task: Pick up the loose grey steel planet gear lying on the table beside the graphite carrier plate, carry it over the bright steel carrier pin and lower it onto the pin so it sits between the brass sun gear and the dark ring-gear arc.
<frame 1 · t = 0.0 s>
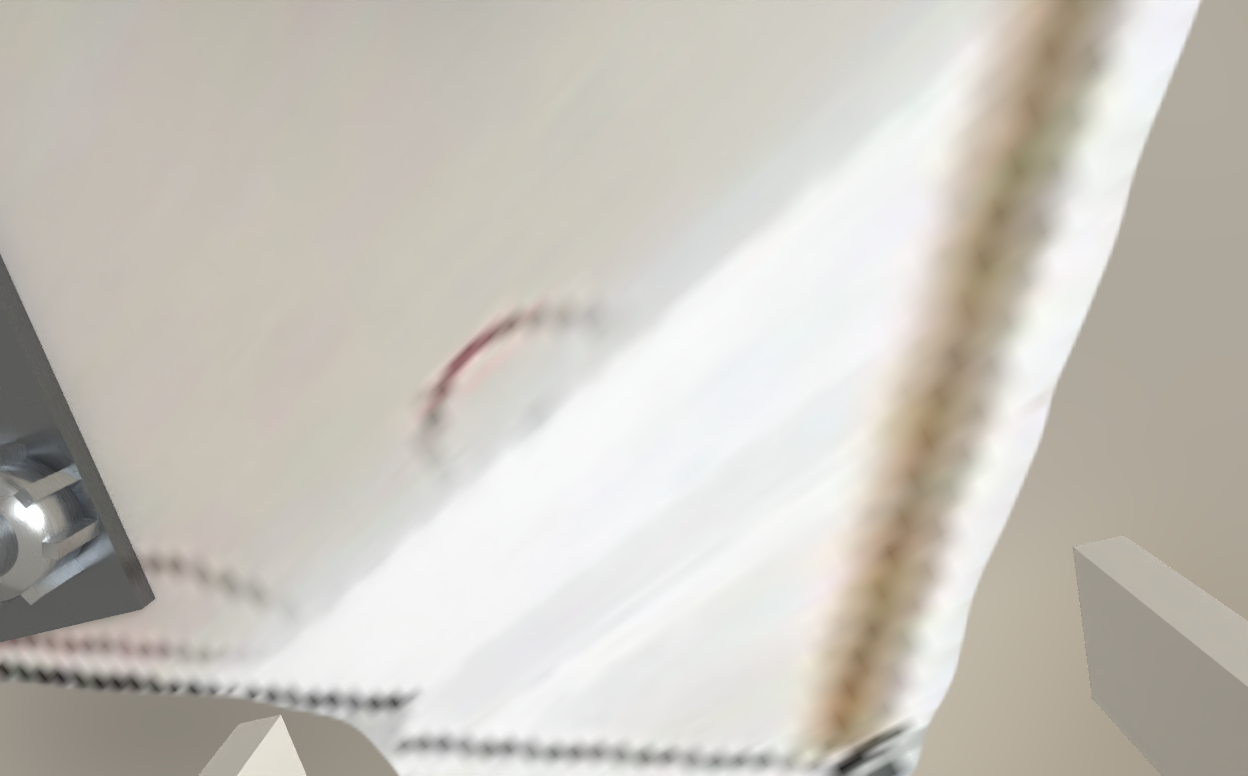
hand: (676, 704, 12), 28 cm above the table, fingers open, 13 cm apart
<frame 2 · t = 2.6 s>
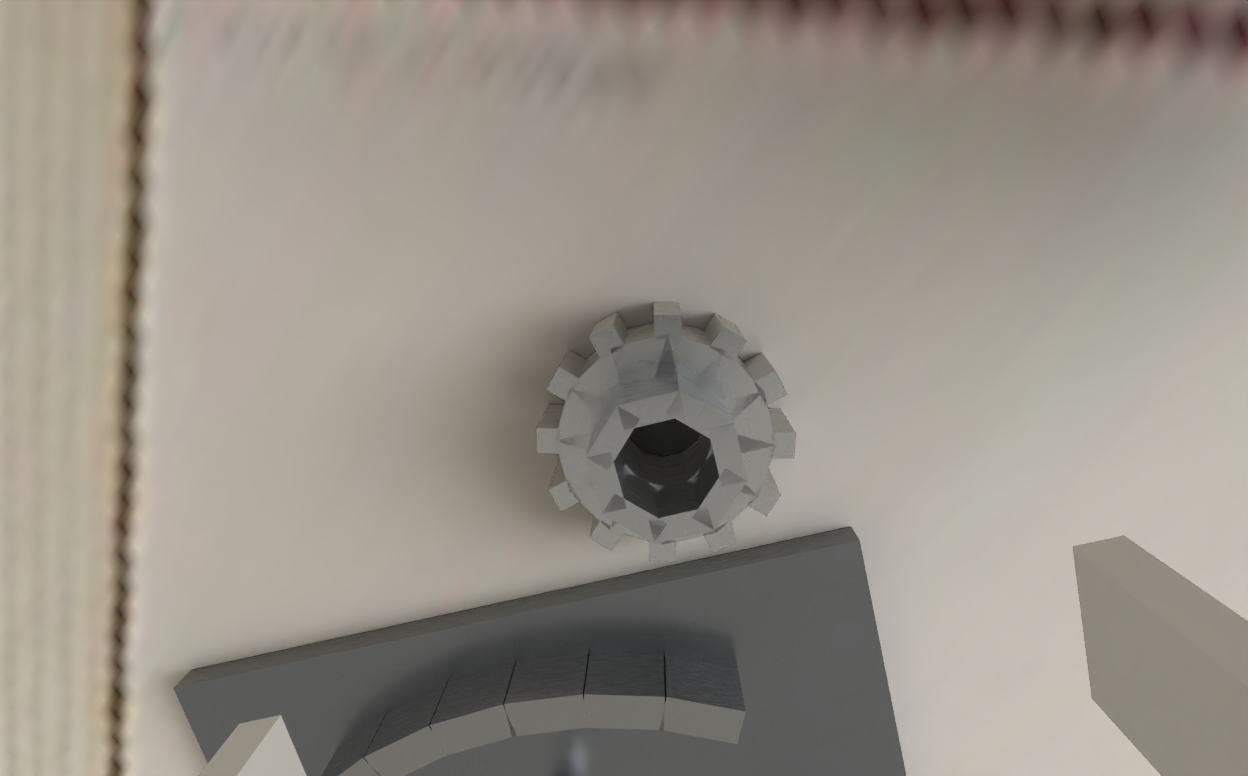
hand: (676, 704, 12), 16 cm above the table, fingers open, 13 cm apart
gear: (663, 417, 28), on the table
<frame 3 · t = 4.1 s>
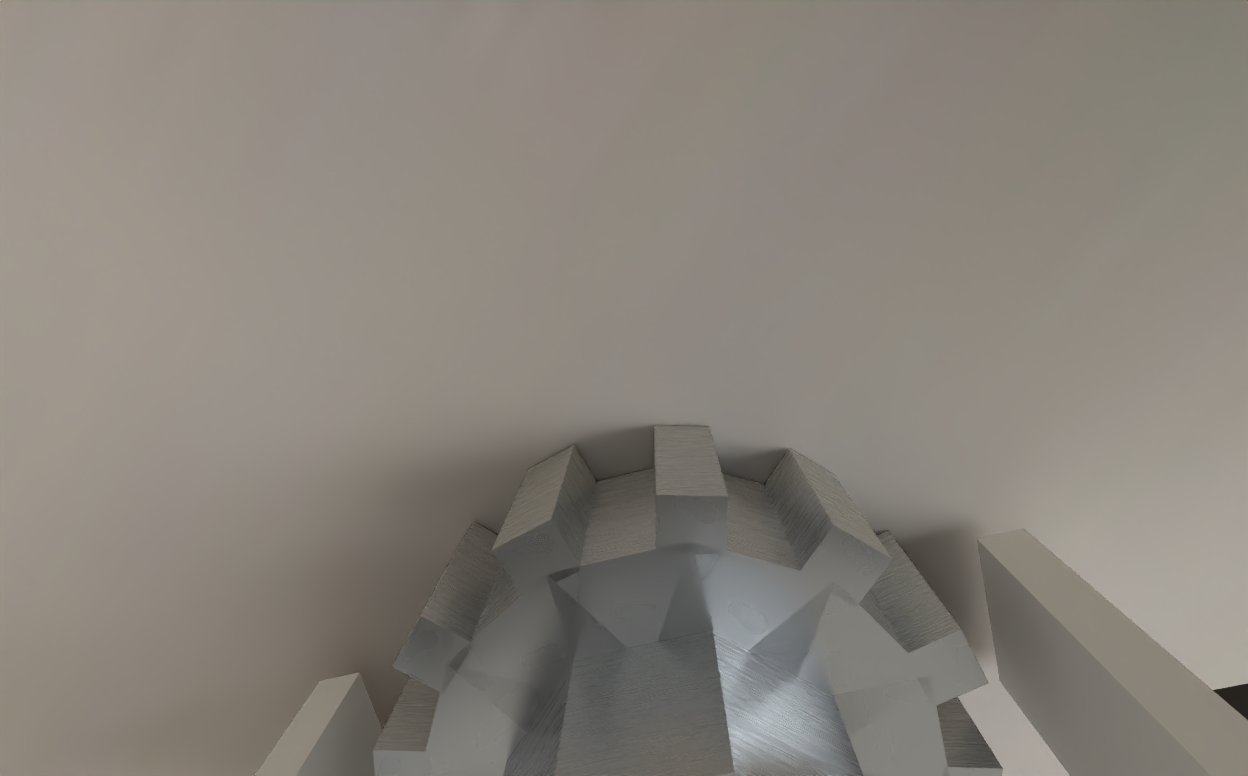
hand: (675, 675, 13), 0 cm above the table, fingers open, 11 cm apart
gear: (675, 658, 13), on the table
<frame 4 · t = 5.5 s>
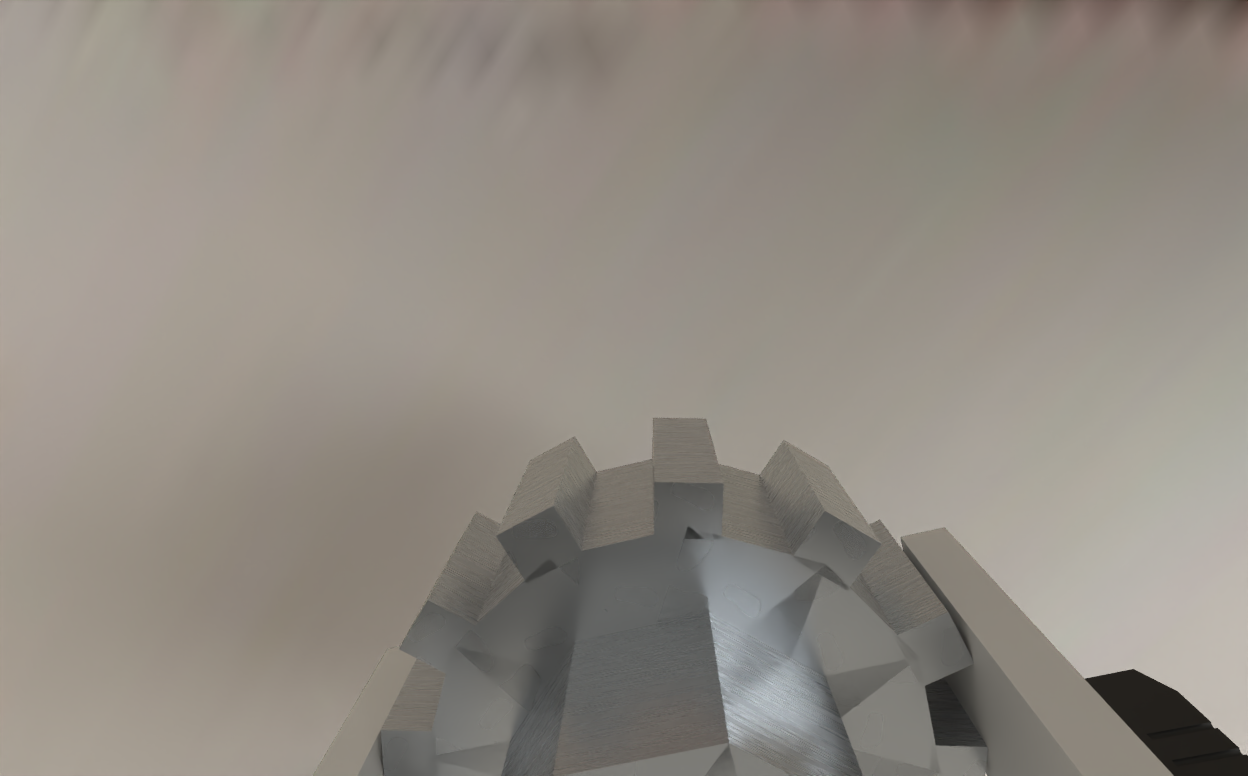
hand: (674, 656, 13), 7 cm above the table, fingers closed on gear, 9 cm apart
gear: (673, 644, 14), point 7 cm above the table, touching gripper
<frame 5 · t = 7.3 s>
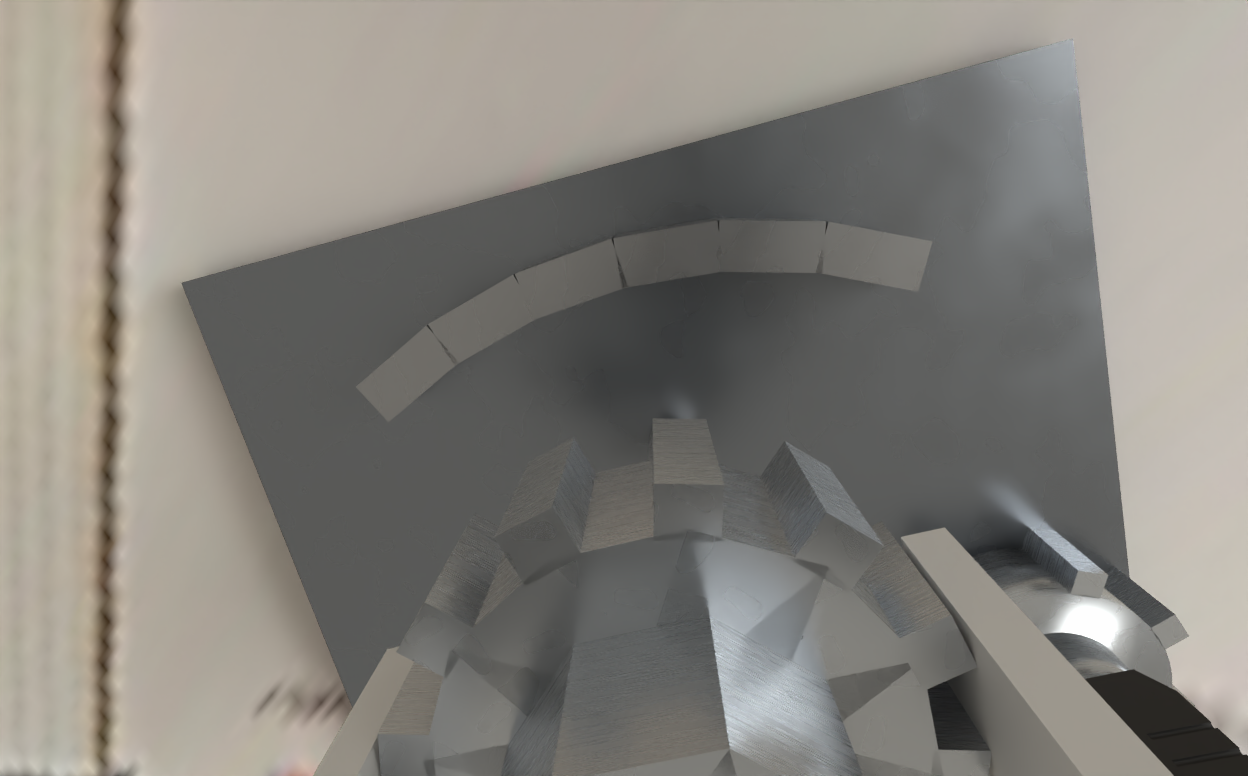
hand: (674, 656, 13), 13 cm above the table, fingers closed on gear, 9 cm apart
carrier: (695, 533, 26), on the table
gear: (673, 647, 13), point 13 cm above the table, touching gripper
when the fingers open (2 cm above the table, at t = 9.3 s): gear stays where it is, resting on carrier.
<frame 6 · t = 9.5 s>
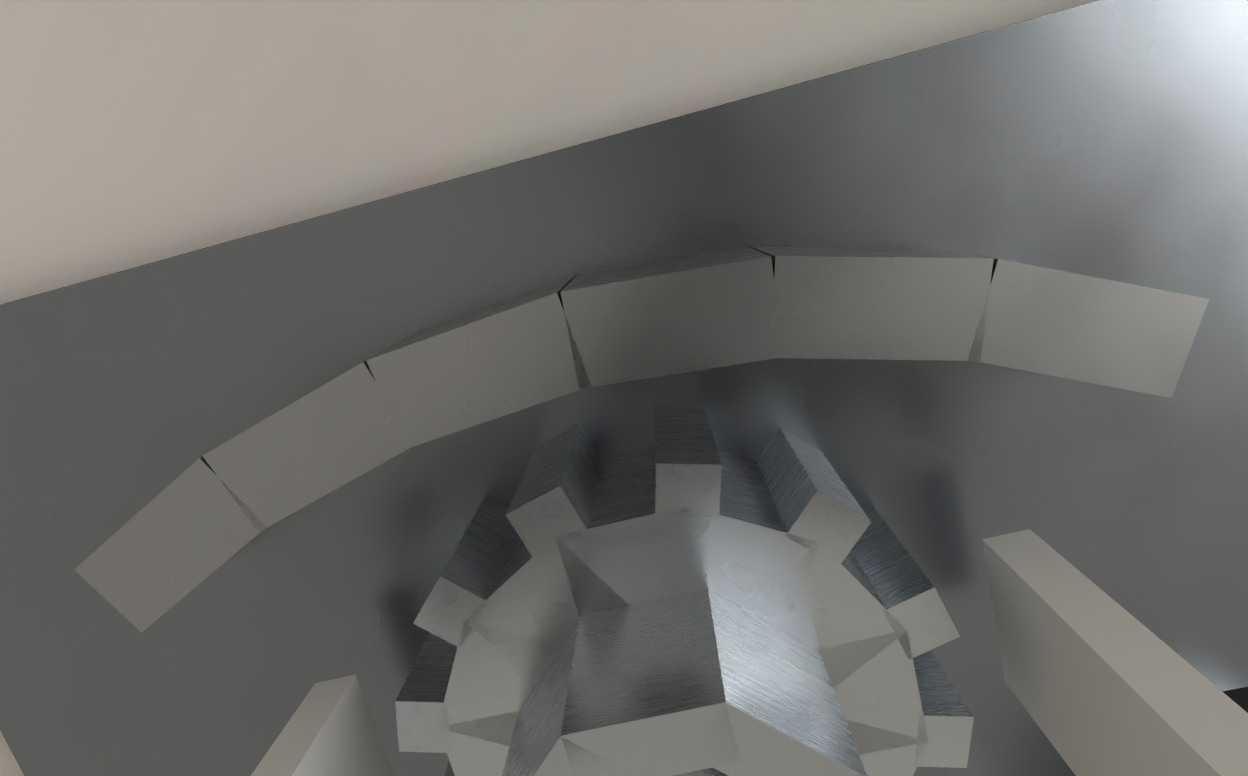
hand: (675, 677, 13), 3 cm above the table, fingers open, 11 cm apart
carrier: (713, 756, 16), on the table
gear: (673, 625, 14), point 1 cm above the table, touching carrier
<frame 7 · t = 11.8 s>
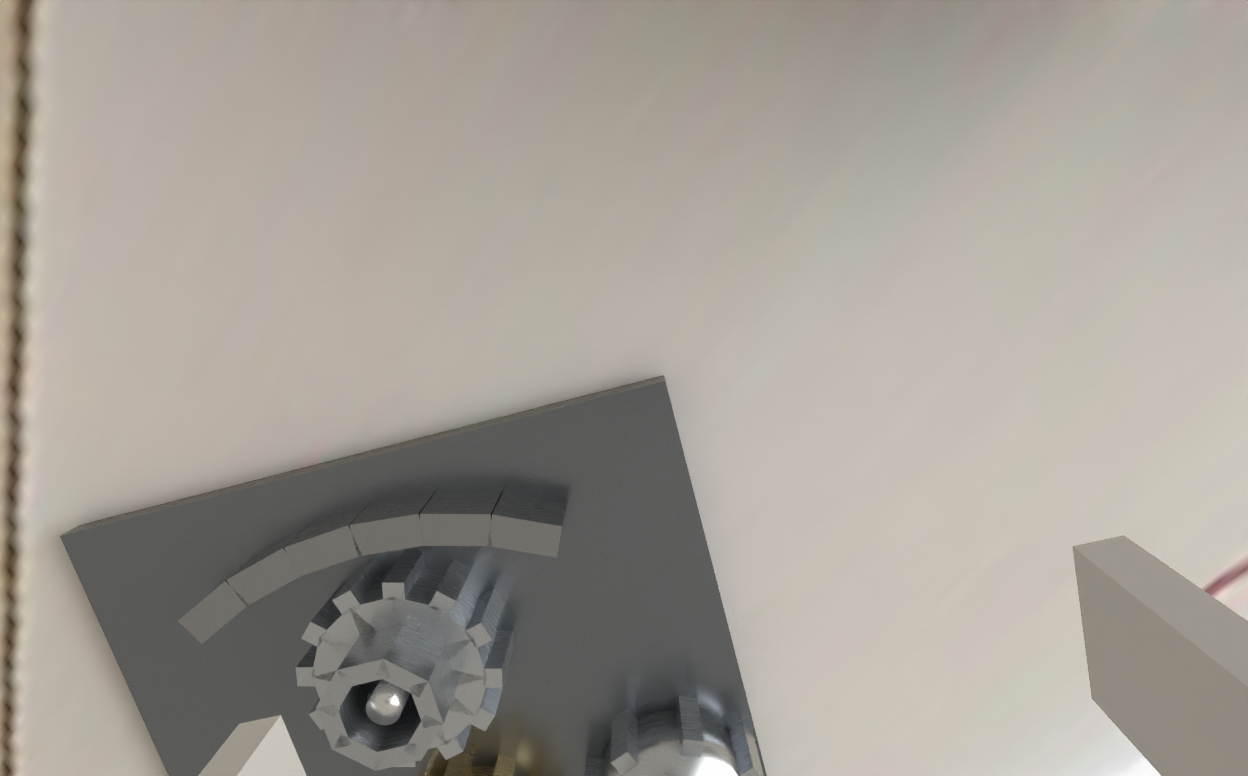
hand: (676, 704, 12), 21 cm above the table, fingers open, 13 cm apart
carrier: (451, 698, 36), on the table
gear: (419, 638, 34), point 1 cm above the table, touching carrier
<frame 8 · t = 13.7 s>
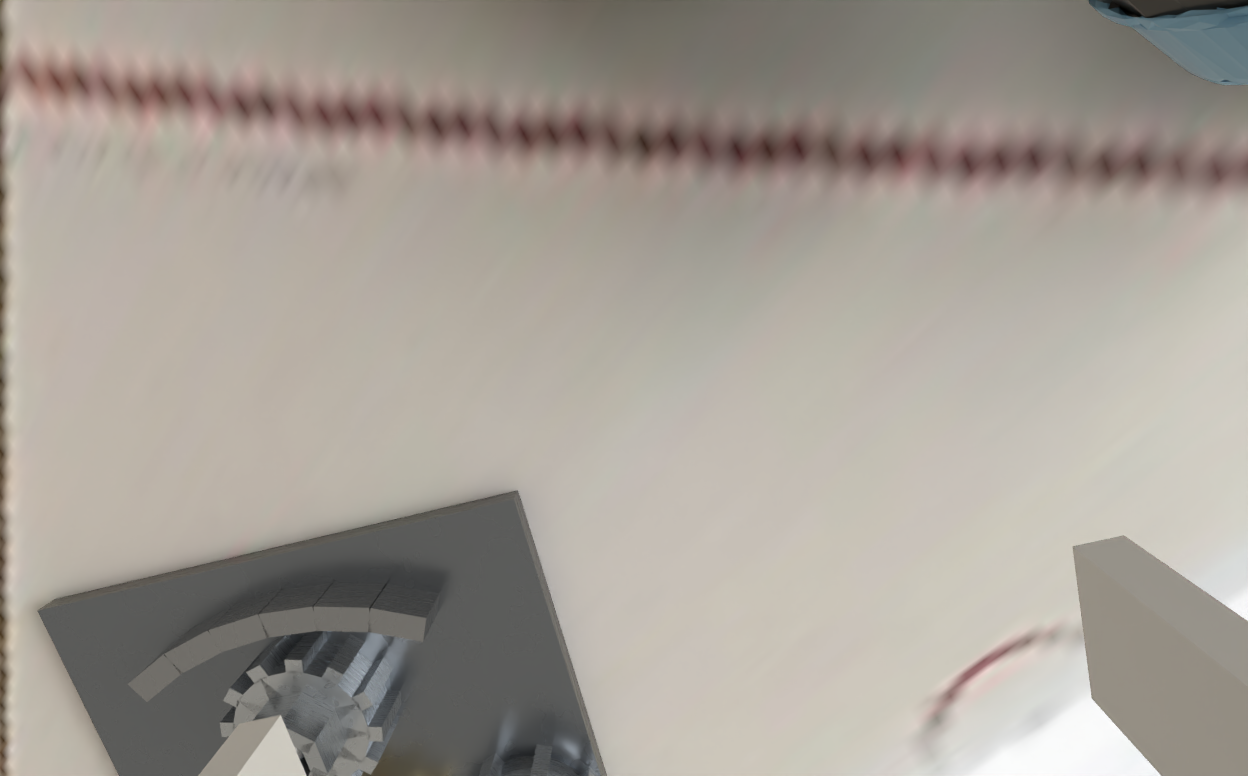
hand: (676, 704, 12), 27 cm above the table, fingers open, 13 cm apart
carrier: (356, 740, 44), on the table
gear: (325, 695, 42), point 1 cm above the table, touching carrier
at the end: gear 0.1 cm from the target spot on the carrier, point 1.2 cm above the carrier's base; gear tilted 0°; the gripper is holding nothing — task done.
